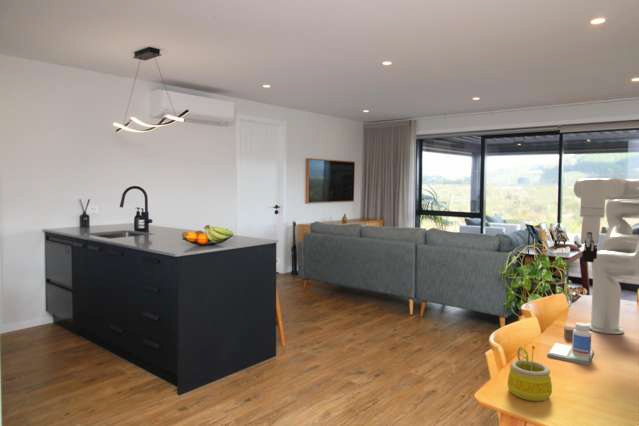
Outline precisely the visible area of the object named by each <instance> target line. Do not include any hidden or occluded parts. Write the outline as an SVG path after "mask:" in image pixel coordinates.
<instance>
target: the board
mask: <svg viewBox="0 0 639 426" xmlns="http://www.w3.org/2000/svg"><path fill="white" fill-rule="evenodd" d="M594 354H595V352H594V349H591V353H590V355H579V354H575V353H574V352H573V351H572V345H570V344H566V343H565V344H564V343H560V342H559V343H558V342H554V343H553V345H552V346H551V348H550V349H549V351H548V352H547V354H546V355H547V356H546V357H547V358H552V359H556V360H561V361H566V362H571V363H576V364H580V365H585V366H590V363H591V361H592V359H593V355H594Z"/></svg>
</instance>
